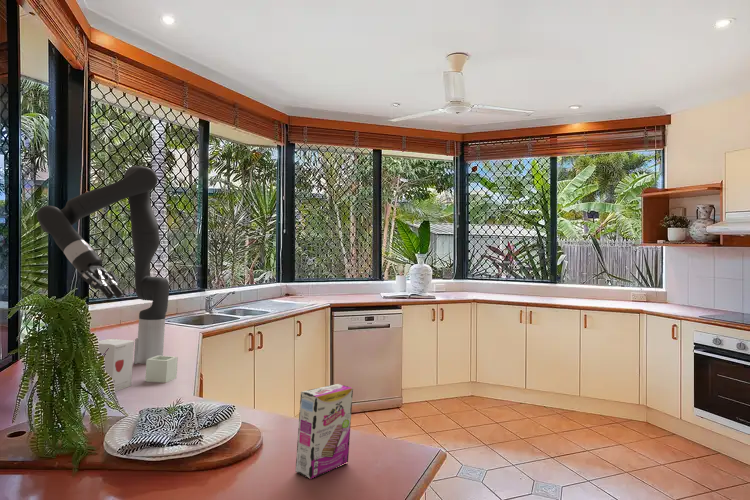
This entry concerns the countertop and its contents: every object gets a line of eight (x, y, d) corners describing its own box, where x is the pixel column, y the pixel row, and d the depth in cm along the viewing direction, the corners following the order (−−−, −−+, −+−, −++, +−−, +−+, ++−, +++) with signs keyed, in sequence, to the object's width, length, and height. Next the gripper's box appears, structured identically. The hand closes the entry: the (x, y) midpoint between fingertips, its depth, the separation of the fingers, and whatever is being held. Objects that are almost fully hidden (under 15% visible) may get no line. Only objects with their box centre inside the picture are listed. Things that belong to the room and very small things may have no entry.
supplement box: (110, 395, 142) (114, 344, 142) (84, 392, 144) (88, 342, 144) (132, 388, 151) (135, 340, 151) (107, 385, 153) (110, 338, 153)
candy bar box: (311, 481, 94) (316, 396, 94) (294, 473, 97) (298, 391, 97) (350, 464, 103) (354, 387, 103) (333, 457, 106) (337, 382, 106)
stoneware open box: (145, 384, 156) (146, 359, 156) (156, 379, 163) (157, 355, 163) (165, 385, 156) (167, 360, 156) (176, 380, 163) (177, 356, 163)
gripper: (76, 248, 149) (111, 290, 148) (105, 249, 163) (137, 287, 162) (58, 264, 149) (93, 306, 148) (89, 264, 164) (121, 302, 162)
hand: (116, 296), depth 155 cm, fingers open, 4 cm apart
